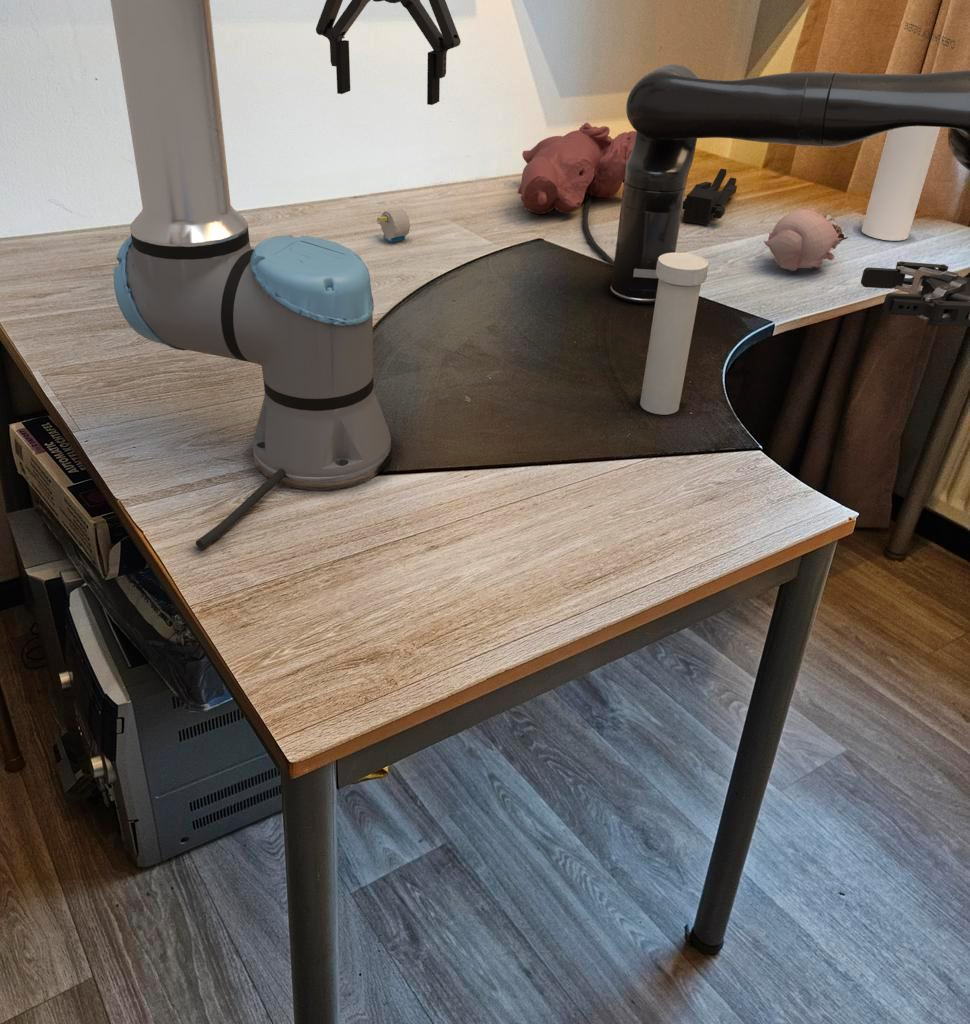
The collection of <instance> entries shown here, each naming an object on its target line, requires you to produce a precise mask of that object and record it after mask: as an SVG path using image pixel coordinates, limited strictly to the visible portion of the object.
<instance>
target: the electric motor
mask: <svg viewBox="0 0 970 1024" xmlns="http://www.w3.org/2000/svg"><path fill="white" fill-rule="evenodd" d="M376 222H377V224H378V225H380V227H381V231H382V233H383V238H384V240H385V241H388V242H389V243H394V242H395V243H396V242H399V241H404V240H405V238H406V236H407V235H409V233H410V229H411V222H410V218H409V216H408V213H407V212H406V210H404V209H403V208H397V209H392V210H387V211H384V212H383V213H382V214H381V216H378V217H377V218H376Z"/></svg>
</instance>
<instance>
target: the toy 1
mask: <svg viewBox="0 0 970 1024" xmlns="http://www.w3.org/2000/svg"><path fill="white" fill-rule="evenodd" d="M727 171H728V170H727V169H726V168H720V169H719V171H718V173H717V175H716V177H715V178H714V180H713V182H710V181H704V182H700V183H697V184H695V185H694V187H693V188H692V190H691V191H690V192H688V193H687V195H686V196H685V198H684V201H683V208H682V210H683V216H682V221H683V222H687V223H693V224H699V225H706V226H707V225H709V223H711V221H712V220H713V218H716V219H722V217H723V216H724V215H725V212H726V204H727V203H728V201H729V199H730V198H731V197H732V196H734V195H735V194H736V193H737V188H738V185H736V182H737V177H732V176H731V177H730V178H729V179H728V180H727V182H726V183H725V185H724V187H723V188H722V190H719V189H720V188H721V186H722V184H723V181H724V180H725V178H726V176H727Z"/></svg>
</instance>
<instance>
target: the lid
mask: <svg viewBox="0 0 970 1024" xmlns="http://www.w3.org/2000/svg"><path fill="white" fill-rule="evenodd" d="M708 272H709V262H708V260H707V259H705V258H704V257H702V256H699V255H698V254H697V255H696V254H693V253H688V252H675V253H666V254H663V255H661V256H659V258H658V261H657V267H656V276H657V278H658V279H660V280H662V281H664V282H666V283H669V284H674V285H680V286H694V285H699V284H701V285H702V284H703V283H705V281H707V278H708V277H707V276H708Z"/></svg>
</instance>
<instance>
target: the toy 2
mask: <svg viewBox="0 0 970 1024" xmlns="http://www.w3.org/2000/svg"><path fill="white" fill-rule="evenodd" d="M849 238H850V237H849V236H845V234H844V233H843V229H842V226H841V224H837V223H836V220H835V218H834V217H832V216H831V215H830V214H826V215H824V216H823V214H821V213H819V212H818V211H814V210H812V209H805V208H800V209H795V210H792V211H790V212H789V213H787V214H785V215H784V216H782V217H781V218H780V220H778V221H777V223H776V224H775V226H774V228H773V230H772V231H771V232H769V234H768V238H767V239H768V240H763V243H764V244H765V246H766V247H767V248H769V251H770V253H771V255H773V258H774V260H775V262H776V263H777V265H778V266H779V267H780V268H781V269H784V270H789V271H792V272H795V271H796V270H797V269H811V270H813V267H815V269H818V268H820V267H821V266H822V265H823V260H825V259H827V260H828V261H832V260H834V259H835V257H836V256H835V254H833V253H832V252H831V251H834V250H835V249H836V248H837V247H838V245H840V244H841V243H842V242H843V241H845V240H847V239H849Z"/></svg>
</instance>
